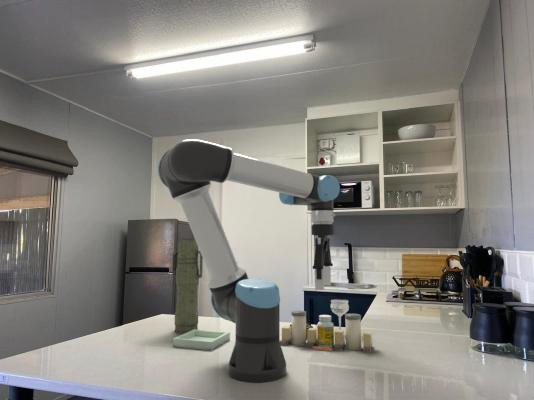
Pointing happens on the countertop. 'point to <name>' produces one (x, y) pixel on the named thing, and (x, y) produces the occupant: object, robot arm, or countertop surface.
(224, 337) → the tray
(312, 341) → the fuse block
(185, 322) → the thermos
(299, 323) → the cream cylinder grey cap
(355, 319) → the cylinder
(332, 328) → the supplement bottle
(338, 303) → the wineglass
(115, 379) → the countertop surface
